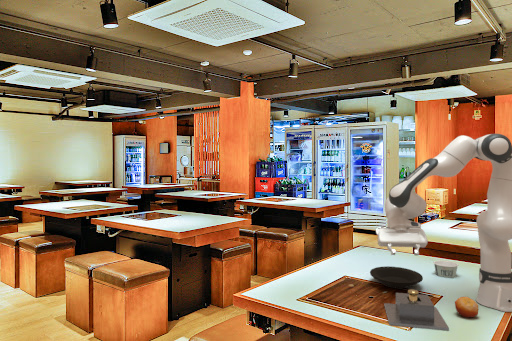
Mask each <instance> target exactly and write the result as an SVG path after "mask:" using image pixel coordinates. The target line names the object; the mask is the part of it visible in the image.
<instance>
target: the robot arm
mask: <svg viewBox="0 0 512 341" xmlns="http://www.w3.org/2000/svg"><path fill="white" fill-rule="evenodd" d="M474 158H475V159H477V160H480V161H485V162H486V161H487V162H488V161H489V162H490V163H491V166H492V172H491V175H490V179H489V184H488V188H487V193H486V198H487V199H486V200H487V208H486V209H487V210H485V211H481V212H480V213H479V214H478V215H477V217H476V226H477V234H478V242H479V247H480V268H479V270H478V280H479V286H478V292H477V295H476V298H475V302H476V303H477V304H480V305H482V306H485V307H487V308H491V309H495V310H498V311H501V312H506V313H507V312H509V313H510V312H511V313H512V251H511V248H510V243H509V241H510V240H512V141H511V140H510V139H509V137H508V136H506V135H504V134H501V133H490V134H485V135H483V136H479V137H477V138H475V139H474V138H472V137H471V136H468V135H463V134H462V135H458V136H457V137H456V138H455V139H453V140H452V141H450V142H449V143H448V144H447V145H446V146H445V148H443V150H442V151H441V152H440V153H439V154H437V155H436V156H434V157H433V158H432V157H431V158H428V159H426V160H425V161H423V162H422V163H421V164H420V165H418V166H417V167H416V168H415V169H414V170H413V171H412V172H410V173H409V174H408V175H407V176H406V177H405V178H403V180H401V181H400V182H398V183H397V184H395V185H393V187H391V188H390V190H389V193H388V197H387V198H386V199H385V203H384V211H385V217H386V218H387V226H378V227H377V228H376V229H375V234H376V235H377V245H378V246H379V247H386V249H387V250H388V251H389V252H390V255H391V256H396V254H397V253H396V249H393V248H394V247H395V248H397V247H398V248H415V249H414V251H413V254H414V256H419V255H420V252H419V249H420V248H426V246H427V245H428V242H429V241H428V237H427V235H426V232H425V230H424V229H422V224H421V223H420V222H417V221H412V220H411V219H415V218H418V217H420V216H422V215H423V214H424V213H425V212H426V210H427V204H428V203H427V201H426V200H425V199H424V198H423V197H422V196H420V195H419V194H417V193H416V192H415V191H414V190H415V189H416V188H417V187H418V186H419V185H420V184H422V183H423V182H424V181H425V180H426V179H427V178H428V177H431V176H438V177H442V178H452V177H456V175H458V174H460V172H461V171H462V170H464V168H465V167H466V166H467V164H468V163H469V162H470V161H471V160H473V159H474Z"/></svg>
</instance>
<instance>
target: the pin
mask: <svg viewBox="0 0 512 341" xmlns="http://www.w3.org/2000/svg"><path fill="white" fill-rule="evenodd" d="M407 294H409V301H417V295H418V294H419V290H418V289H407Z"/></svg>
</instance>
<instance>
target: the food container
mask: <svg viewBox="0 0 512 341" xmlns="http://www.w3.org/2000/svg"><path fill="white" fill-rule="evenodd" d="M432 263H433V264H434V269H435V270H434V271H435V275H436V276H437V277H440V278H445V279H454V278H456V276H457V270H458V266H459V263H457V262H454V261H449V260H434V261H433V262H432Z"/></svg>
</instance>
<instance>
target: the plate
mask: <svg viewBox="0 0 512 341" xmlns="http://www.w3.org/2000/svg"><path fill="white" fill-rule="evenodd" d="M369 274H370V276H371V278H373V279H375V280H376V281H378V282H379V283H381V284H382V285H384V286H386V287H387V288H391V289H395V290H397V289H399V290H401V289H403V290H404V289H407V288H410V287H412V286H415V285H417V284H420V283H421V282H422V281H423V280H424V277H423V275H422V274H421V273H419V272H418V271H415V270H412V269H409V268H405V267H401V266H377V267H373V268H372V269H370V272H369Z"/></svg>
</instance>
